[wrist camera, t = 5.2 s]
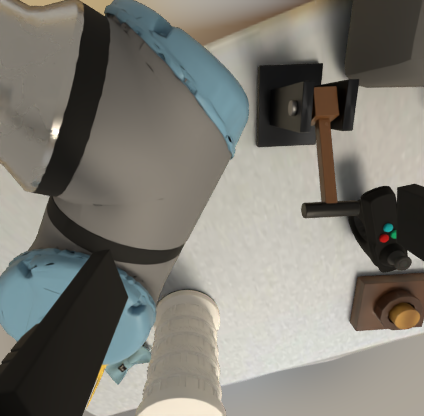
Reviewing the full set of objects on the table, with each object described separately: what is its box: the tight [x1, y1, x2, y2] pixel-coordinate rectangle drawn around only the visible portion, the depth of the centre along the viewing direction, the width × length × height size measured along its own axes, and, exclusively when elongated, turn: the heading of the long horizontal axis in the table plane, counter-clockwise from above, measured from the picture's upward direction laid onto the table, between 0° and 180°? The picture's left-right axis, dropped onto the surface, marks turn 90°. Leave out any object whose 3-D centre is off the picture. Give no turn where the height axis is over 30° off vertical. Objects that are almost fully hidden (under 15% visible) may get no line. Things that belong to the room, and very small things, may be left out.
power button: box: [388, 303, 420, 329], centre depth 44 cm, size 4×4×2 cm
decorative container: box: [135, 290, 226, 416], centre depth 39 cm, size 12×12×18 cm
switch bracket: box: [257, 63, 359, 147], centre depth 31 cm, size 10×8×13 cm
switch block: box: [350, 273, 424, 331], centre depth 47 cm, size 12×10×4 cm
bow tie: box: [105, 346, 151, 384], centre depth 50 cm, size 10×2×5 cm
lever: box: [301, 86, 360, 218], centre depth 26 cm, size 12×5×2 cm, turn 2°
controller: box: [348, 186, 412, 272], centre depth 38 cm, size 4×12×10 cm, turn 21°
